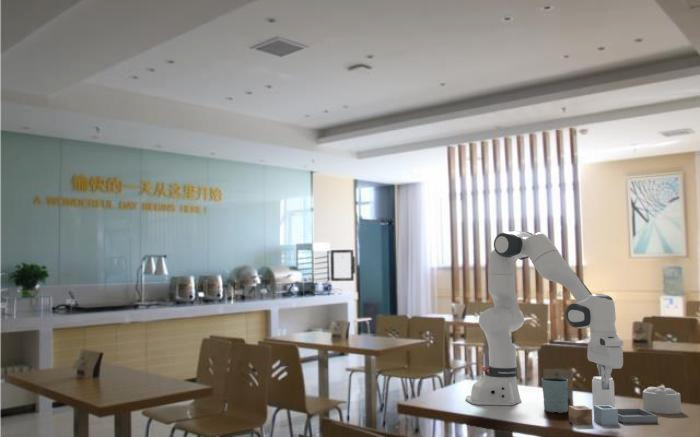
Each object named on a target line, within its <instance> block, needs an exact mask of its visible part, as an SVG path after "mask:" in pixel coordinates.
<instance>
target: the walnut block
mask: <svg viewBox="0 0 700 437" xmlns="http://www.w3.org/2000/svg"><path fill="white" fill-rule="evenodd" d="M568 422H570V423H571V424H573V425H575V426H593V409H592V408H590V407H588V406H586V405H568Z"/></svg>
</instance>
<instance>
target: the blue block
mask: <svg viewBox="0 0 700 437" xmlns="http://www.w3.org/2000/svg"><path fill="white" fill-rule="evenodd" d="M618 409H619V408H617V407H616V406H615V407H612V406H610V405H597V406H594V407H593V419H594V420H593V421H594V422H596V423H598V424H600V425H603V426H607V425H608V426H609V425H610V426H612V425H613V426H614V425H619V422H618Z"/></svg>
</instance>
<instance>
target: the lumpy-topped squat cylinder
mask: <svg viewBox="0 0 700 437" xmlns="http://www.w3.org/2000/svg"><path fill="white" fill-rule="evenodd" d="M681 402H682V400H681V393H680V392H678V391H675V390H674V389H673V388H670V387H665V386H662V385H660V386H657V387H655V386H648V387H647V388H645V389H644V390H643V391H642V408H643V410H645V411H647V412H650V413H653V414H654V413H657V414H663V415H665V414H666V415H670V414H672V415H675V414H681V413H682V404H681Z"/></svg>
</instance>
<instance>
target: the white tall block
mask: <svg viewBox="0 0 700 437" xmlns="http://www.w3.org/2000/svg"><path fill="white" fill-rule="evenodd" d="M591 390H592V396H591V397H592V407H593V408H594V406H597V405H610V406H612V407H615V408H616V405H615V404H616V402H615V380H614V379H613V377H611V378H610V379H609V390H603V389H602V382H601V376H599V375H598V376H593V377H592V380H591Z"/></svg>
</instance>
